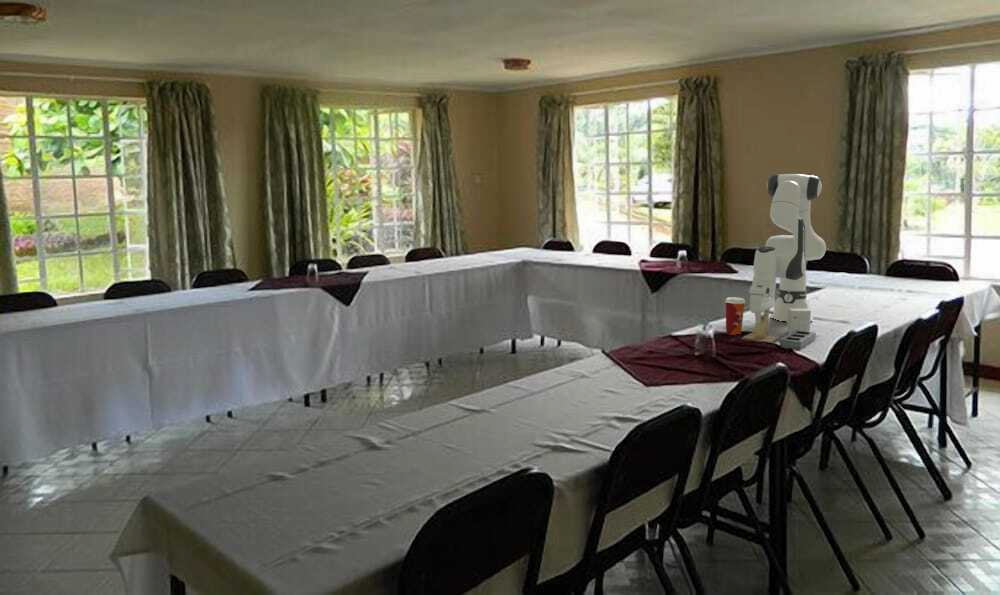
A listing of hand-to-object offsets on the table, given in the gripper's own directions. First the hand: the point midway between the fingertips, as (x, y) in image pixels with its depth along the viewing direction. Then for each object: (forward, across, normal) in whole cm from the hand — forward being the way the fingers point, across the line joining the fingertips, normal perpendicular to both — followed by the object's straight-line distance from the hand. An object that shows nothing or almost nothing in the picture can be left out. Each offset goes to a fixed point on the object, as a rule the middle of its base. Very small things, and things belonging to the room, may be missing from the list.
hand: (761, 321), depth 314 cm
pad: (+8, 0, 0) cm, 8 cm away
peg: (+7, 0, 0) cm, 7 cm away
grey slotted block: (+8, -2, +14) cm, 16 cm away
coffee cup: (+8, -5, -13) cm, 16 cm away
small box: (+8, -21, +9) cm, 24 cm away
